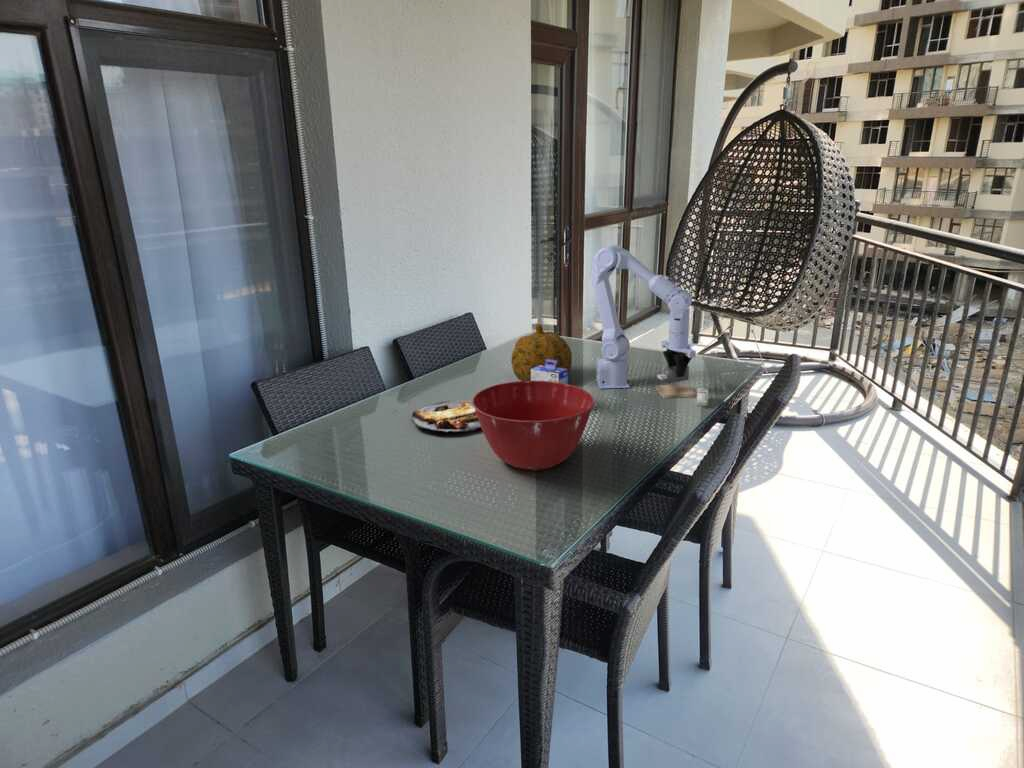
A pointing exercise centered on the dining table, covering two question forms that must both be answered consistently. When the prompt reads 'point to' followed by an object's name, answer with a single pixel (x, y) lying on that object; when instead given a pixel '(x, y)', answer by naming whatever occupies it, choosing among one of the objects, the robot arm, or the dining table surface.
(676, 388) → the cork pad
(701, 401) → the offwhite plug
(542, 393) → the mixing bowl
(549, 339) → the decorative pumpkin
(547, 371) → the ink cartridge box
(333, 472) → the dining table surface
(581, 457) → the dining table surface
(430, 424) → the food plate
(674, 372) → the charcoal plug
